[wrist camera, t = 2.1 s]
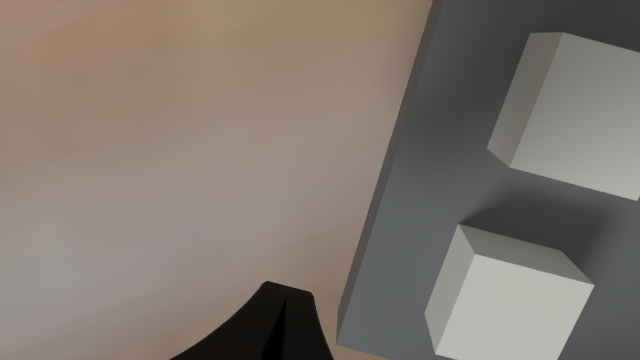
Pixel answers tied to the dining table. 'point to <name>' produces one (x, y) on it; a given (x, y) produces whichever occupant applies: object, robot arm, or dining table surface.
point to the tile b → (574, 114)
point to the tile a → (504, 299)
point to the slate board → (487, 185)
